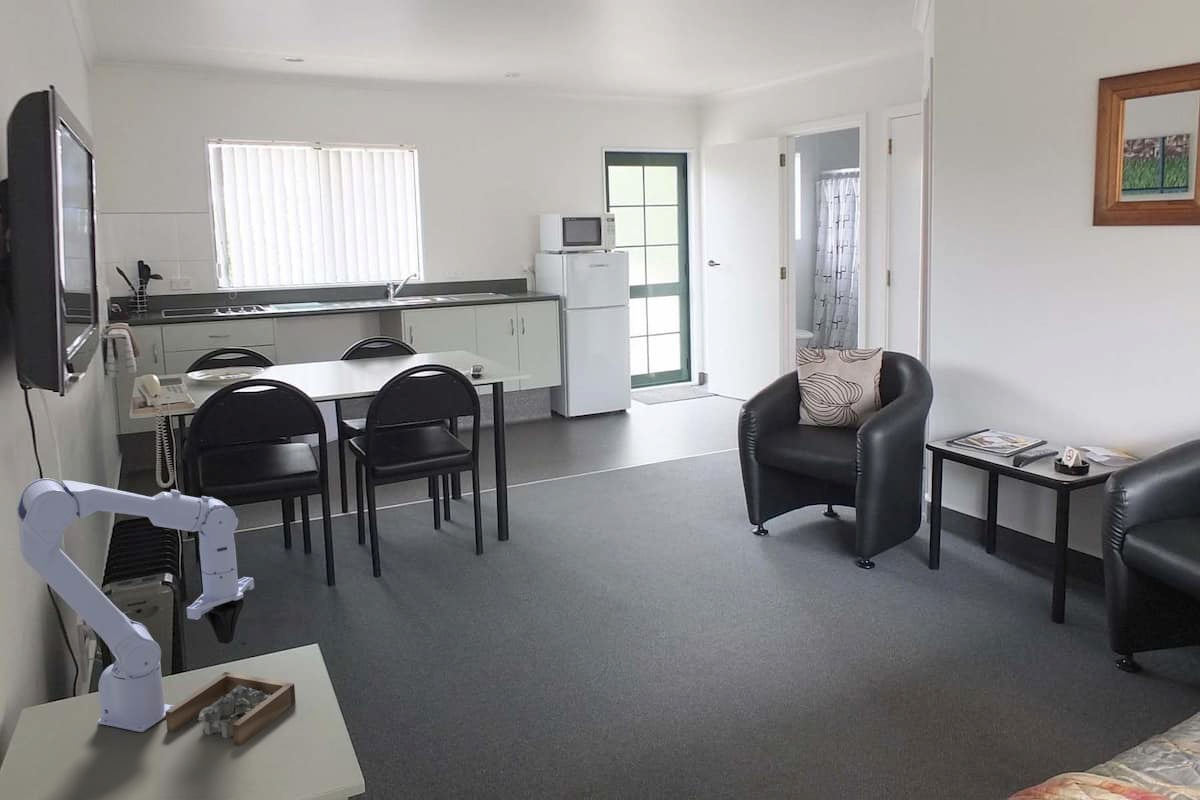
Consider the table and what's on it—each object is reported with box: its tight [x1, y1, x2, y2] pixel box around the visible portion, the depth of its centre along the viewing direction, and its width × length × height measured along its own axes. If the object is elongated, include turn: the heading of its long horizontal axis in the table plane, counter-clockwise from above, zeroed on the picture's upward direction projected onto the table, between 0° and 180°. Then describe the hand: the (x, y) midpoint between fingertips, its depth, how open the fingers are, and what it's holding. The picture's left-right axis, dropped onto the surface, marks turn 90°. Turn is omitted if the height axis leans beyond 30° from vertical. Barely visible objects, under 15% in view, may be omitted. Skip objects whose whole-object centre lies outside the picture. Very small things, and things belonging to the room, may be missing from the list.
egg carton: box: [197, 685, 271, 739], centre depth 153 cm, size 11×8×4 cm
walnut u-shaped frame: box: [165, 671, 296, 746], centre depth 155 cm, size 14×14×4 cm
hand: (225, 641), depth 162 cm, fingers closed
